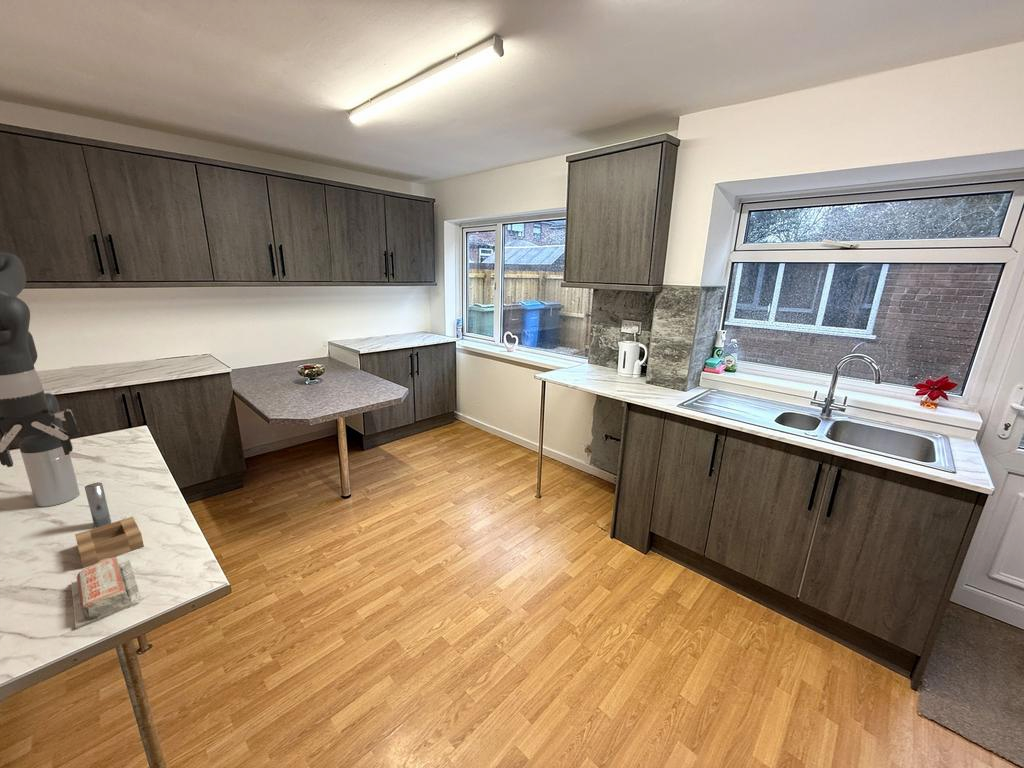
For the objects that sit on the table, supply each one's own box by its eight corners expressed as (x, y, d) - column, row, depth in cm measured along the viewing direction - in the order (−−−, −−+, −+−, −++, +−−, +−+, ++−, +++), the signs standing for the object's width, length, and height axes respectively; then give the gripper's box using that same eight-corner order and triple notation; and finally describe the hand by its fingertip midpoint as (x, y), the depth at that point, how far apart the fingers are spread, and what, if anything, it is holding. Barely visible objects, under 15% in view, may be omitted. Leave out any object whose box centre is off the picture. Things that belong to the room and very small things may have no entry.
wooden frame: (78, 548, 104) (74, 534, 103) (135, 529, 113) (132, 516, 112) (83, 568, 98) (79, 553, 97) (144, 546, 106) (141, 533, 105)
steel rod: (93, 524, 114) (83, 485, 111) (110, 519, 117) (101, 481, 114) (95, 529, 112) (85, 489, 109) (112, 524, 115) (103, 485, 112)
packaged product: (138, 585, 87) (70, 611, 80) (142, 604, 88) (76, 632, 81) (127, 547, 99) (67, 567, 92) (131, 564, 100) (72, 585, 93)
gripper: (65, 381, 94) (84, 444, 99) (-35, 393, 84) (-8, 463, 89) (65, 389, 89) (85, 456, 94) (-42, 403, 79) (-13, 477, 84)
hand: (39, 459), depth 92 cm, fingers open, 8 cm apart
